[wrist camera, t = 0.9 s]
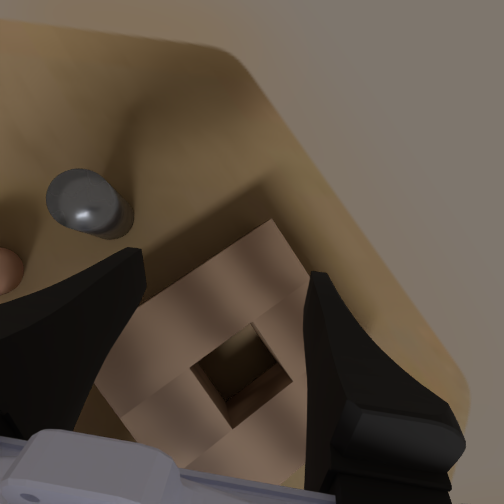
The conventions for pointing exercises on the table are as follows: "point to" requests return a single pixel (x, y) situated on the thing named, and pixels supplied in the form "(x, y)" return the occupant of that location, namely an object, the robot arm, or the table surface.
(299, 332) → the hole block
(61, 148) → the table surface
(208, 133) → the table surface
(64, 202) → the dark metallic cylinder
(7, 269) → the pinkish tan rounded piece
